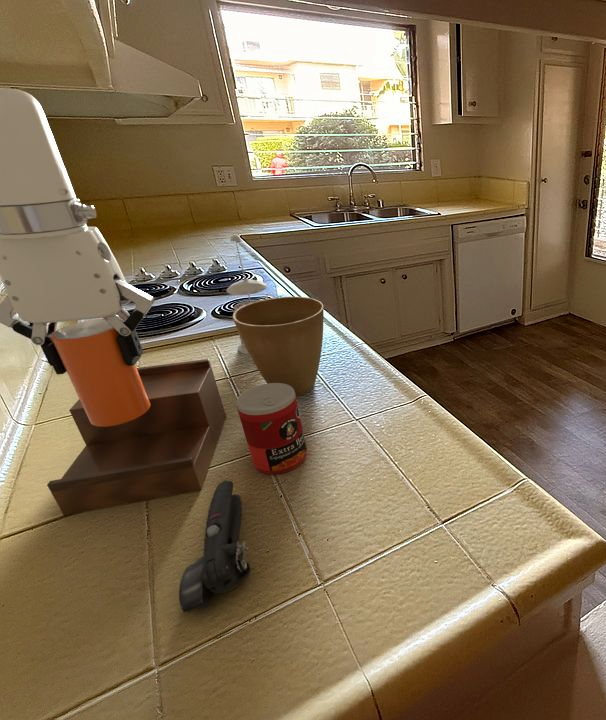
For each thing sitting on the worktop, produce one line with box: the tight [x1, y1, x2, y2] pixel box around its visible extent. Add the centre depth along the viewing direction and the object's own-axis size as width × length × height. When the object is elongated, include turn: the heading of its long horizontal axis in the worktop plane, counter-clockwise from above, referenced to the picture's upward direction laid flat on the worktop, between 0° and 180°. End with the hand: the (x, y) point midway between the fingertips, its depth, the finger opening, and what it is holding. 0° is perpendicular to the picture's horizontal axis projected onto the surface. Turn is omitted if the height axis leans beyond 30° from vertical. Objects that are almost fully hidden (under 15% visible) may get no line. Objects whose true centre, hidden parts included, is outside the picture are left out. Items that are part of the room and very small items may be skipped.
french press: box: [225, 234, 276, 355], centre depth 101 cm, size 10×12×25 cm
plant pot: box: [232, 296, 324, 397], centre depth 85 cm, size 15×15×16 cm
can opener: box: [178, 480, 251, 613], centre depth 53 cm, size 18×7×6 cm, turn 20°
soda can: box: [51, 318, 150, 427], centre depth 59 cm, size 7×7×12 cm
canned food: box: [235, 383, 308, 475], centre depth 67 cm, size 8×8×11 cm
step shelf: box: [46, 358, 227, 516], centre depth 67 cm, size 16×19×11 cm
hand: (100, 364), depth 58 cm, fingers closed on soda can, 6 cm apart
